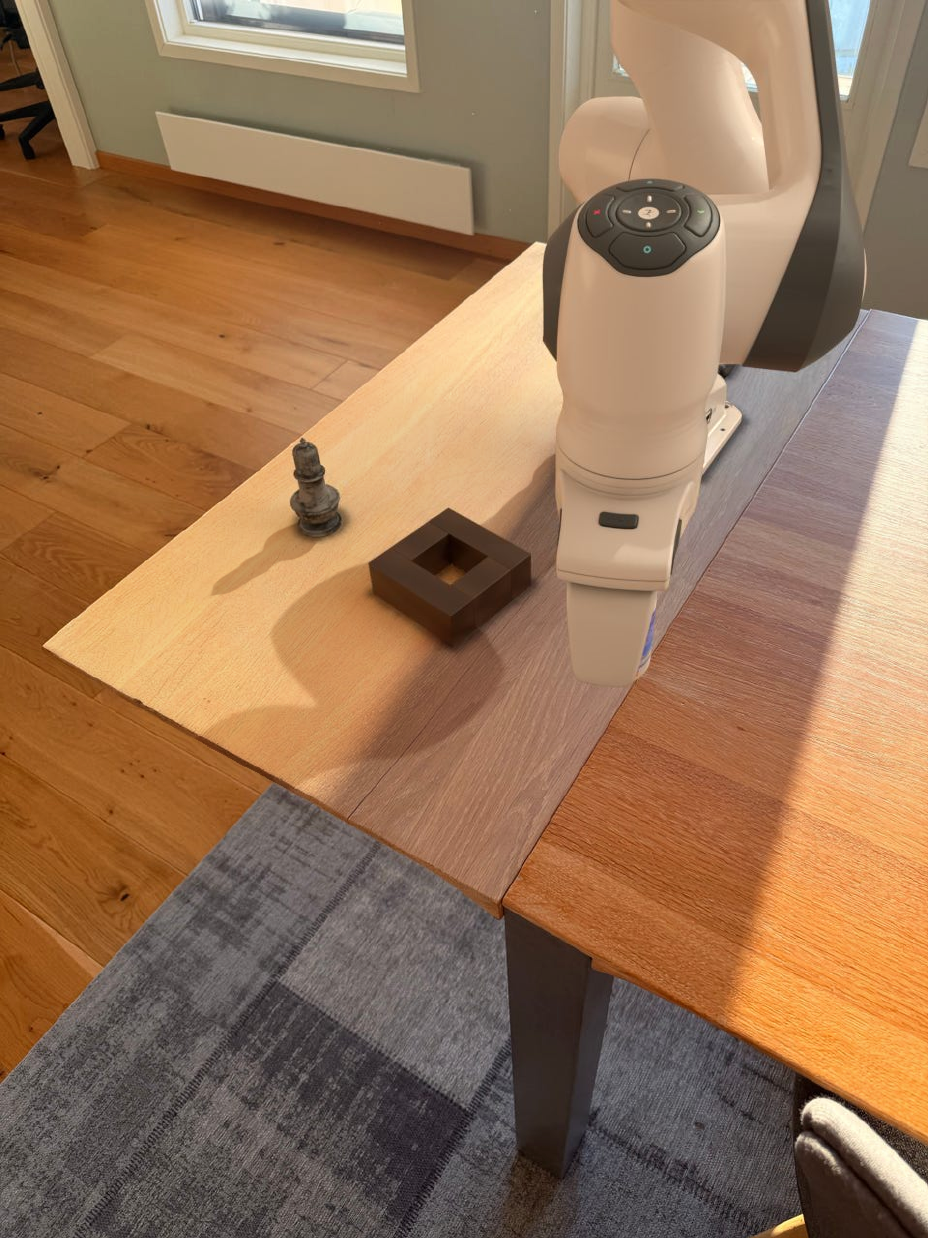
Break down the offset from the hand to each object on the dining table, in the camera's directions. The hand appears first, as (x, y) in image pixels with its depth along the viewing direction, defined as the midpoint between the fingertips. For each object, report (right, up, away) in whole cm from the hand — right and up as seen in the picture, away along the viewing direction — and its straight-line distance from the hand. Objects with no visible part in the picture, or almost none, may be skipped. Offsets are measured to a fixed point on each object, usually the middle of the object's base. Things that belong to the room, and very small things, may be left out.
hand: (615, 627), depth 66 cm
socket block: (-12, +4, +33) cm, 35 cm away
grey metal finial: (-28, +12, +42) cm, 52 cm away
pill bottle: (0, -3, +3) cm, 4 cm away
